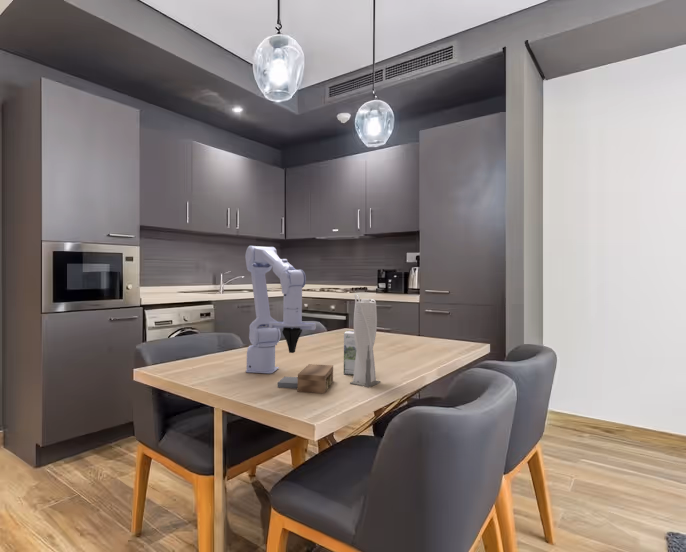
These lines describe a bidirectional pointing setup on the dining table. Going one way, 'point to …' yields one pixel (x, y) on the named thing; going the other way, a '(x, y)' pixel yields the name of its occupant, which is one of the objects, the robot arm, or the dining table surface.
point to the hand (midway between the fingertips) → (292, 352)
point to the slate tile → (288, 382)
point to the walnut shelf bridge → (315, 378)
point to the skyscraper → (365, 342)
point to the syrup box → (349, 352)
